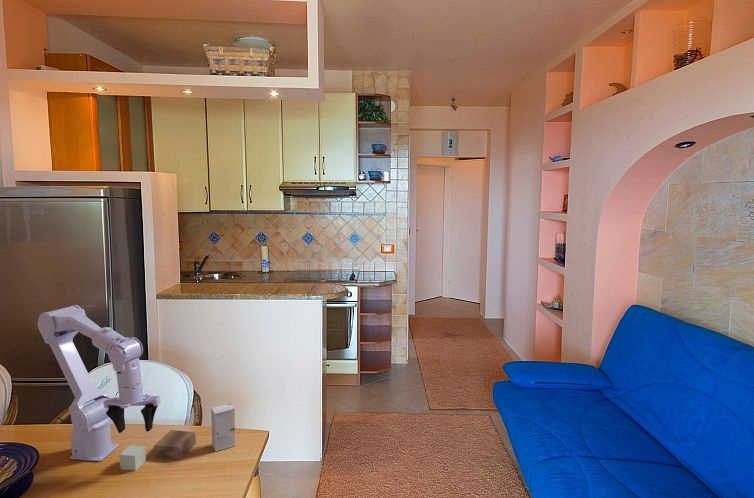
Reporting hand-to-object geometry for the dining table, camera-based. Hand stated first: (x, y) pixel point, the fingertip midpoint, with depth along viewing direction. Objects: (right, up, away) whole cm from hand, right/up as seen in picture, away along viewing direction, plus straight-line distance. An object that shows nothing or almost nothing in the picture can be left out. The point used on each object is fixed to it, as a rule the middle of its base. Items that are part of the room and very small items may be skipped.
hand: (135, 430), depth 123 cm
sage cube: (-2, -11, +2) cm, 11 cm away
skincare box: (+21, -9, +11) cm, 25 cm away
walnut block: (+7, -10, +9) cm, 15 cm away
